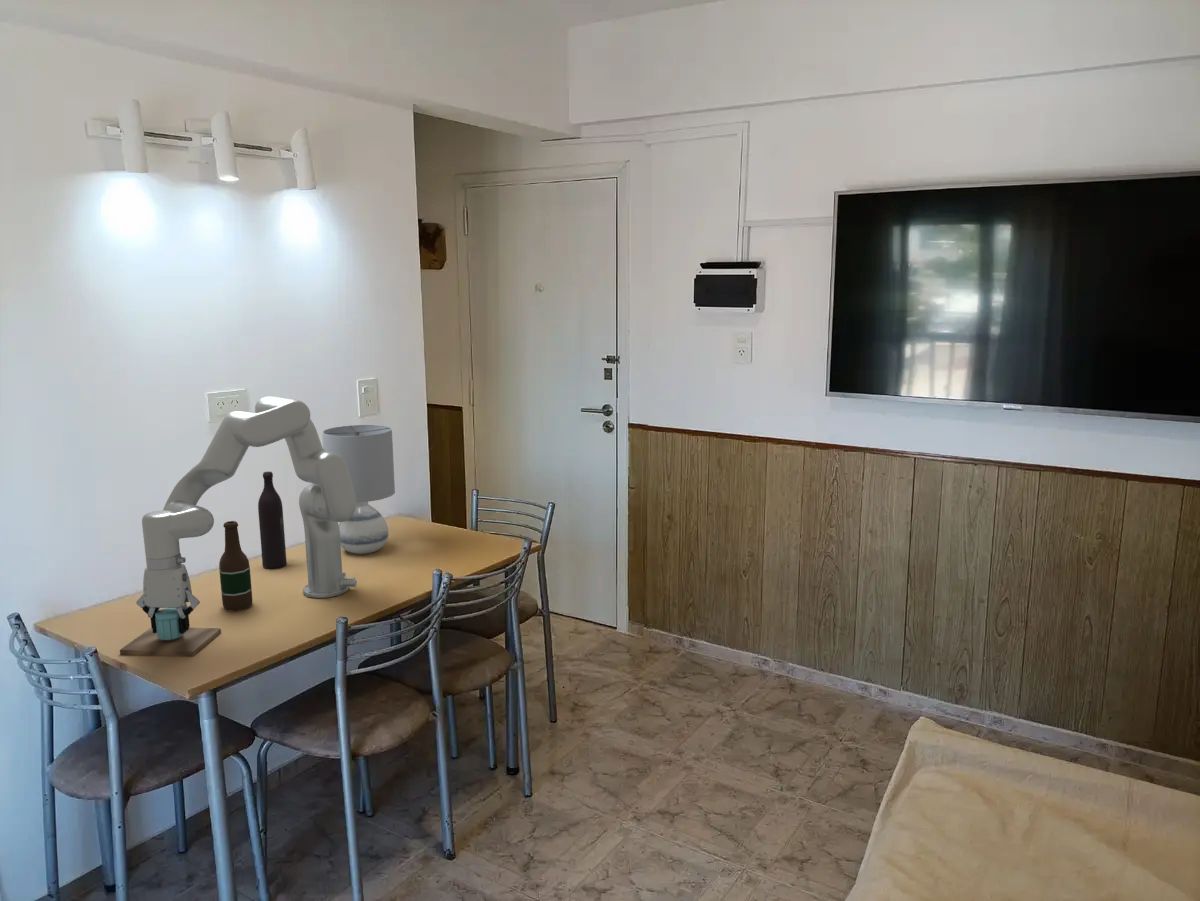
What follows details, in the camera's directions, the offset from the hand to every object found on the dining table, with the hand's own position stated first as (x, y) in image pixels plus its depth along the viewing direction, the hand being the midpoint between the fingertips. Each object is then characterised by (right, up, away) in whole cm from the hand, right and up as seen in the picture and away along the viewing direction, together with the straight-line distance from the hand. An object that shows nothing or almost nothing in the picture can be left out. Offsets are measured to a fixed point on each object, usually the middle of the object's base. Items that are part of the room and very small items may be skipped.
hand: (171, 630), depth 216 cm
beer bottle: (+6, +1, +25) cm, 26 cm away
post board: (0, -3, +1) cm, 3 cm away
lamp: (+28, +11, +74) cm, 80 cm away
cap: (0, -1, 0) cm, 1 cm away
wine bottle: (+4, +8, +58) cm, 59 cm away
